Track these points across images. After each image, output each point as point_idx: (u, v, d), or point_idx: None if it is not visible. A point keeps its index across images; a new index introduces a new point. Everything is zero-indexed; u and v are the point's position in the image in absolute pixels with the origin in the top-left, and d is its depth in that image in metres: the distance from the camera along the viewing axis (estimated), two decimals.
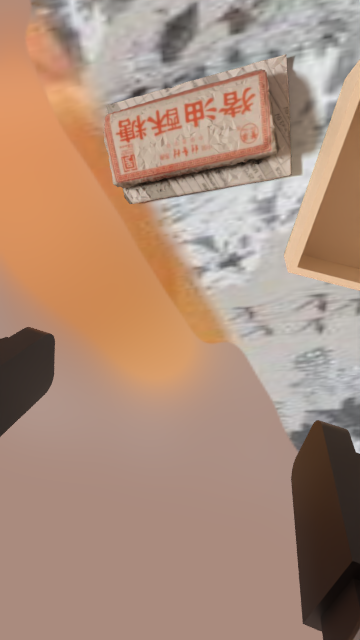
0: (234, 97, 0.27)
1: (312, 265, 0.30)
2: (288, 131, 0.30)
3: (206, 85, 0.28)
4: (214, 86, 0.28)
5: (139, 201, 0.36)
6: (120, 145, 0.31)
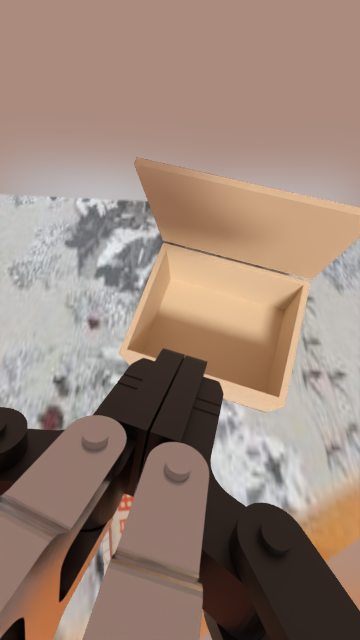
0: None
1: (276, 384, 0.31)
2: None
3: None
4: None
5: None
6: None
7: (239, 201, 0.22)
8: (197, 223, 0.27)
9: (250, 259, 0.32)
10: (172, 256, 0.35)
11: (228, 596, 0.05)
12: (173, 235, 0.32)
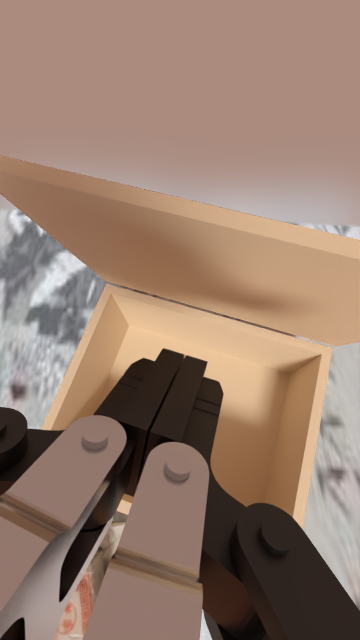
0: None
1: None
2: None
3: None
4: None
5: None
6: None
7: (200, 243, 0.10)
8: (139, 267, 0.16)
9: (237, 315, 0.20)
10: (122, 302, 0.24)
11: (228, 596, 0.05)
12: (114, 277, 0.20)
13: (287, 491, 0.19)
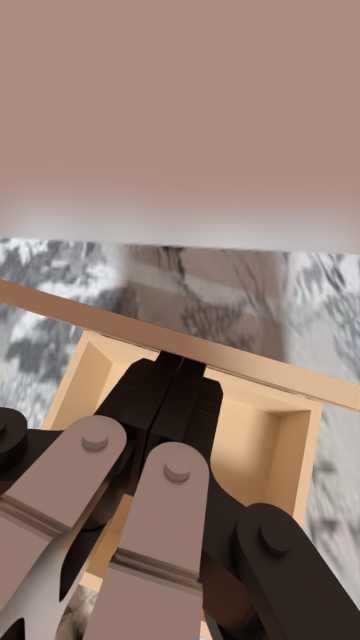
0: None
1: None
2: None
3: None
4: None
5: None
6: None
7: None
8: (109, 335, 0.14)
9: None
10: (102, 348, 0.22)
11: (228, 596, 0.05)
12: None
13: None
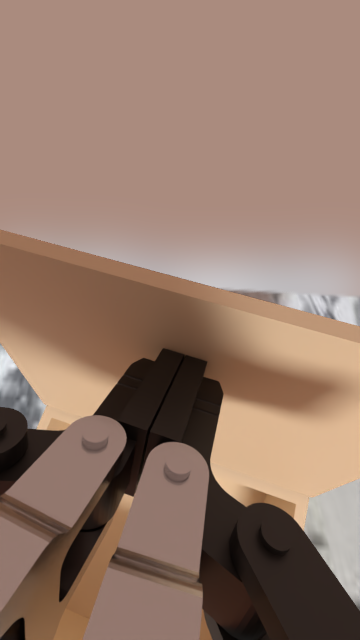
0: None
1: None
2: None
3: None
4: None
5: None
6: None
7: (166, 328, 0.09)
8: (89, 375, 0.13)
9: None
10: None
11: (228, 596, 0.05)
12: (57, 396, 0.17)
13: None
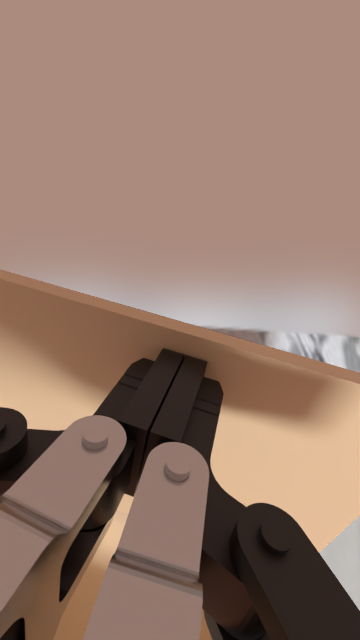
0: None
1: None
2: None
3: None
4: None
5: None
6: None
7: None
8: None
9: None
10: None
11: (228, 596, 0.05)
12: None
13: None
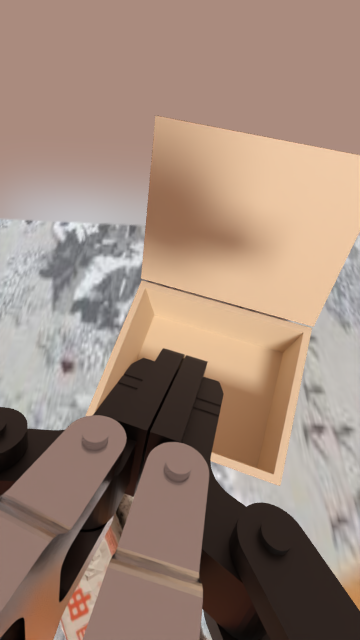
0: None
1: (271, 450, 0.27)
2: None
3: None
4: None
5: None
6: None
7: (252, 162, 0.22)
8: (195, 221, 0.25)
9: (243, 295, 0.28)
10: (153, 295, 0.31)
11: (228, 596, 0.05)
12: (158, 260, 0.28)
13: (277, 431, 0.26)
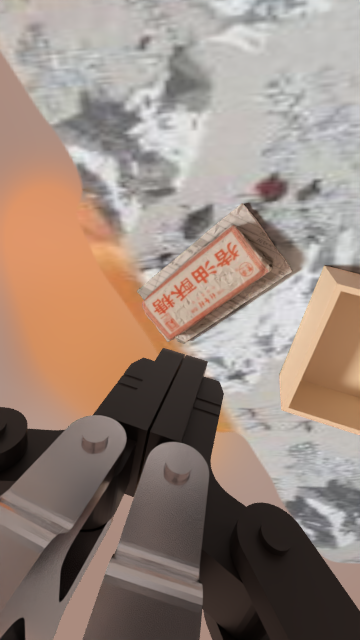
0: (223, 253, 0.36)
1: (300, 399, 0.39)
2: (272, 245, 0.37)
3: (198, 253, 0.37)
4: (205, 252, 0.36)
5: (189, 338, 0.44)
6: (160, 317, 0.40)
7: None
8: None
9: None
10: None
11: (228, 596, 0.05)
12: None
13: (314, 407, 0.38)
